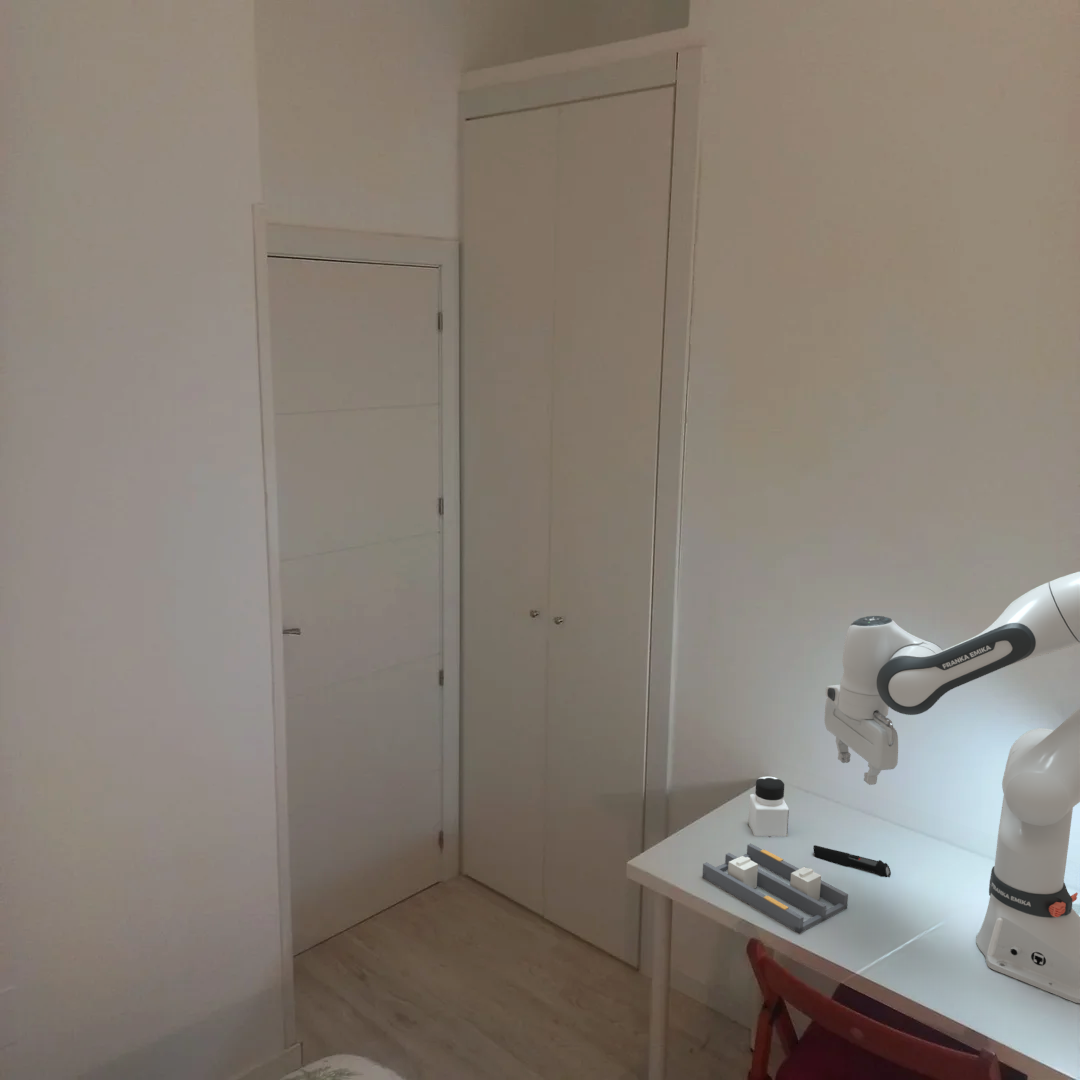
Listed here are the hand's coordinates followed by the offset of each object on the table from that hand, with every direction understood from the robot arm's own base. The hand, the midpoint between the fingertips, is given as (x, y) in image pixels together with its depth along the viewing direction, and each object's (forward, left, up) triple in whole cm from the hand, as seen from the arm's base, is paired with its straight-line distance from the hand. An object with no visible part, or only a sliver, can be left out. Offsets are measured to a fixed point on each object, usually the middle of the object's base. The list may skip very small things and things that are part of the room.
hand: (856, 771), depth 192 cm
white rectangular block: (+5, +6, -26) cm, 27 cm away
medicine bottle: (+28, -10, -27) cm, 40 cm away
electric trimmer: (+7, -12, -27) cm, 31 cm away
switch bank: (+10, +9, -27) cm, 30 cm away
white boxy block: (+15, +13, -26) cm, 33 cm away
